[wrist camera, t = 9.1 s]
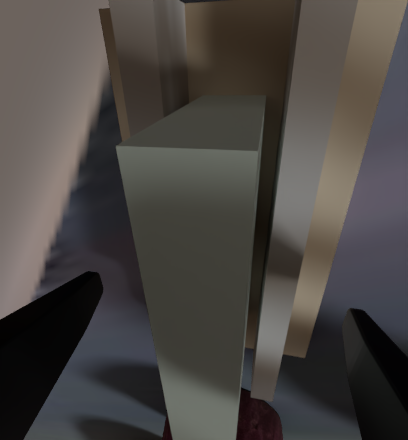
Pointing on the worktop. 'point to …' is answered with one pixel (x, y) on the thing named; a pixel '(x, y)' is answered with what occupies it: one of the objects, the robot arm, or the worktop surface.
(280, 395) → the worktop surface
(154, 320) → the rectangular block
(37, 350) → the robot arm
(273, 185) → the track
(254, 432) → the vegetable
